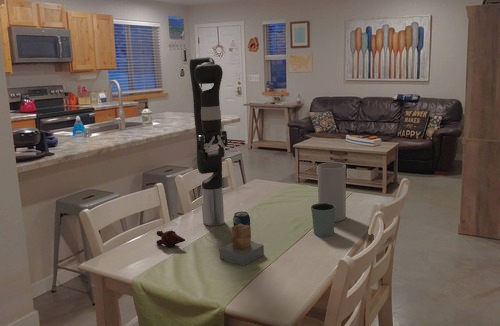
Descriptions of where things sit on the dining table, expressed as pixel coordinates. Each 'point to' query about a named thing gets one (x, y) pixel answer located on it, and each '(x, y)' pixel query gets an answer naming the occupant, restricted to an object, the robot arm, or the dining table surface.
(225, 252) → the slate base
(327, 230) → the blue gray cup
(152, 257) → the dining table surface
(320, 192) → the cylinder vase
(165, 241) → the dark brown animal figure
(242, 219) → the soda can
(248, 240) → the walnut block
